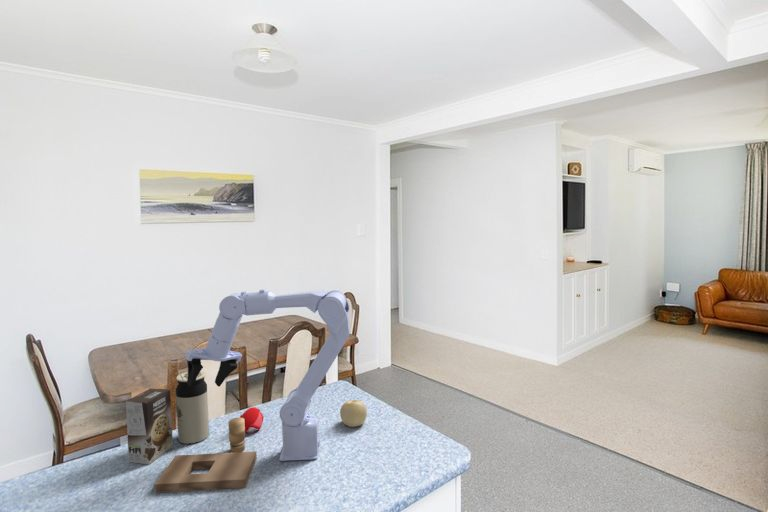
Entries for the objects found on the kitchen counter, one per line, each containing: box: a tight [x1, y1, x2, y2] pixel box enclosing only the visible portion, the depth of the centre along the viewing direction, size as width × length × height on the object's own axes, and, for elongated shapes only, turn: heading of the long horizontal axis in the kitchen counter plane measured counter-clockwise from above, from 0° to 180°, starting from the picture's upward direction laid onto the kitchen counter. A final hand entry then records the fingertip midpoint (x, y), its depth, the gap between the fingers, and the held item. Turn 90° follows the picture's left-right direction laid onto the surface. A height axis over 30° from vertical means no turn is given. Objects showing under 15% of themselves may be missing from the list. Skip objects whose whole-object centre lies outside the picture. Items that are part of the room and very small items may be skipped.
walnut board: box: [154, 451, 258, 494], centre depth 105 cm, size 20×12×2 cm, turn 95°
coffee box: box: [125, 387, 174, 465], centre depth 114 cm, size 9×6×16 cm
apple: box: [339, 399, 368, 428], centre depth 130 cm, size 8×8×8 cm
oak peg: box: [228, 417, 246, 453], centre depth 116 cm, size 4×4×8 cm
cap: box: [239, 407, 264, 434], centre depth 127 cm, size 8×6×6 cm
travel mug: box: [175, 370, 210, 445], centre depth 122 cm, size 8×8×18 cm
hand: (203, 384), depth 113 cm, fingers open, 7 cm apart
